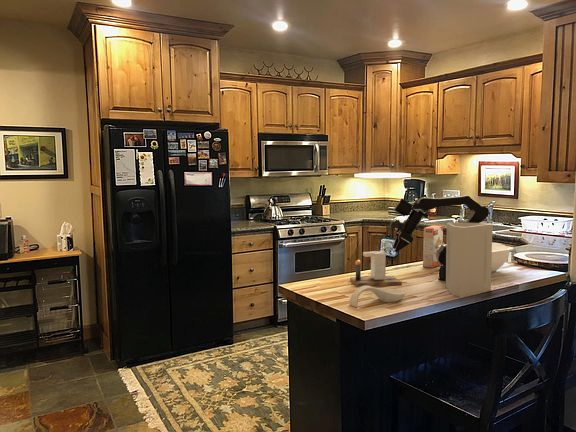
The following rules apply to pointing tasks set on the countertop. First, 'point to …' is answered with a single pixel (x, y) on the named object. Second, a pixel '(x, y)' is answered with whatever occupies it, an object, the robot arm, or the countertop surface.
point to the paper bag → (468, 258)
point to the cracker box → (432, 245)
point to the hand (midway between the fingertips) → (394, 250)
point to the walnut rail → (375, 281)
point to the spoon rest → (377, 294)
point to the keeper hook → (358, 269)
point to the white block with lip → (377, 264)
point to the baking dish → (497, 255)
